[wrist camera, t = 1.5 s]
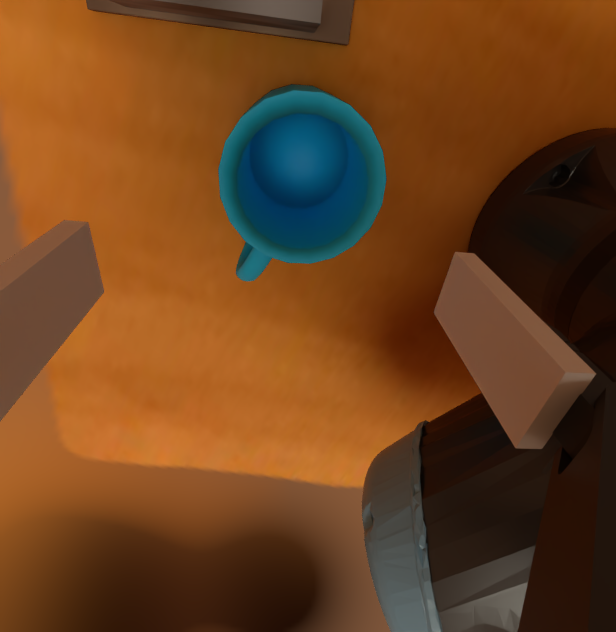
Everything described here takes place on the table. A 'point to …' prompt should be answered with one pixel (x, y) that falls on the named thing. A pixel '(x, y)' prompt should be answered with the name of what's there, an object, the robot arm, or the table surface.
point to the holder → (247, 15)
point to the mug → (300, 178)
